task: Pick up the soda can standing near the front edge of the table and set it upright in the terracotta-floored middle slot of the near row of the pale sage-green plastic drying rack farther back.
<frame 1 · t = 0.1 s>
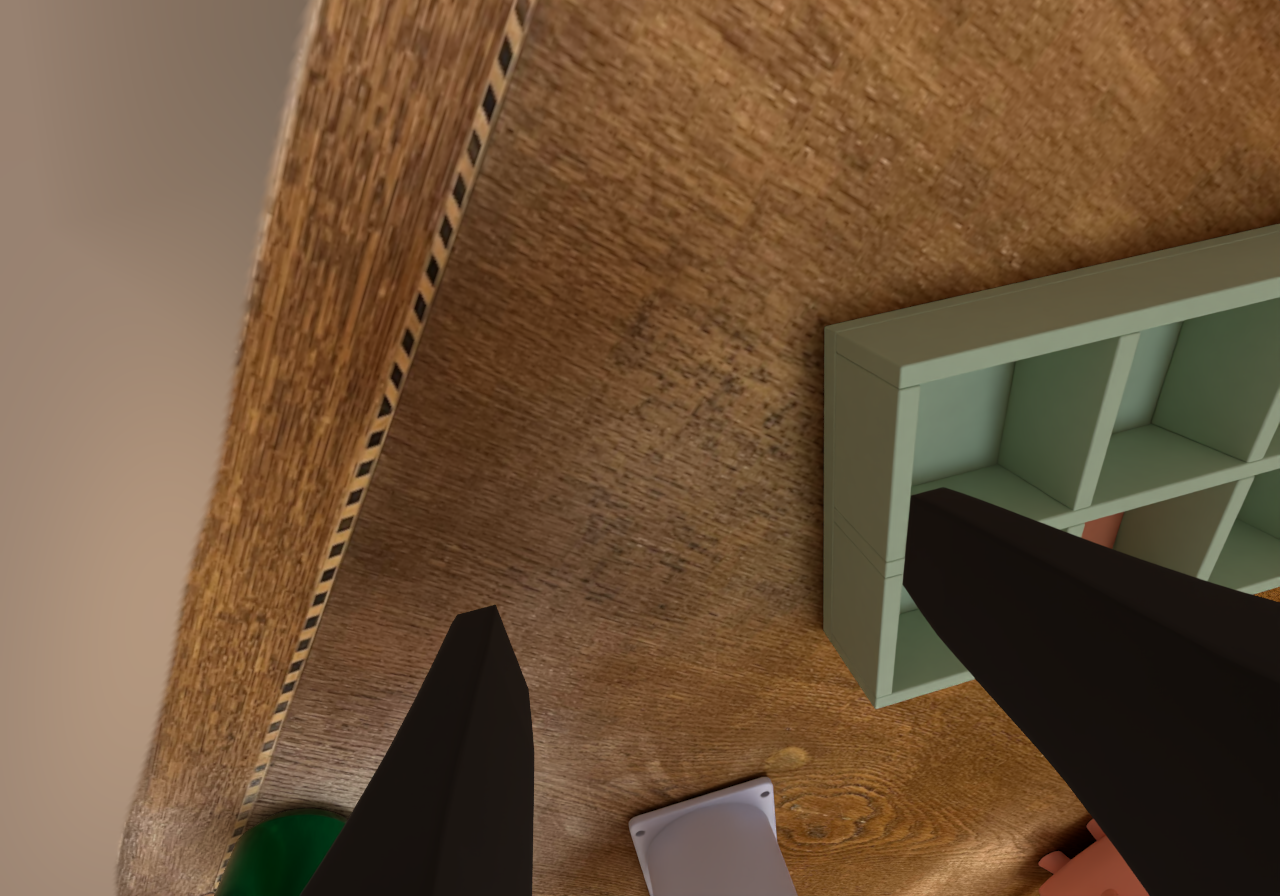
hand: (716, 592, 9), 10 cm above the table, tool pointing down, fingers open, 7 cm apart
soda can: (305, 831, 25), on the table
rack: (1062, 440, 23), on the table
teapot: (1088, 840, 44), on the table
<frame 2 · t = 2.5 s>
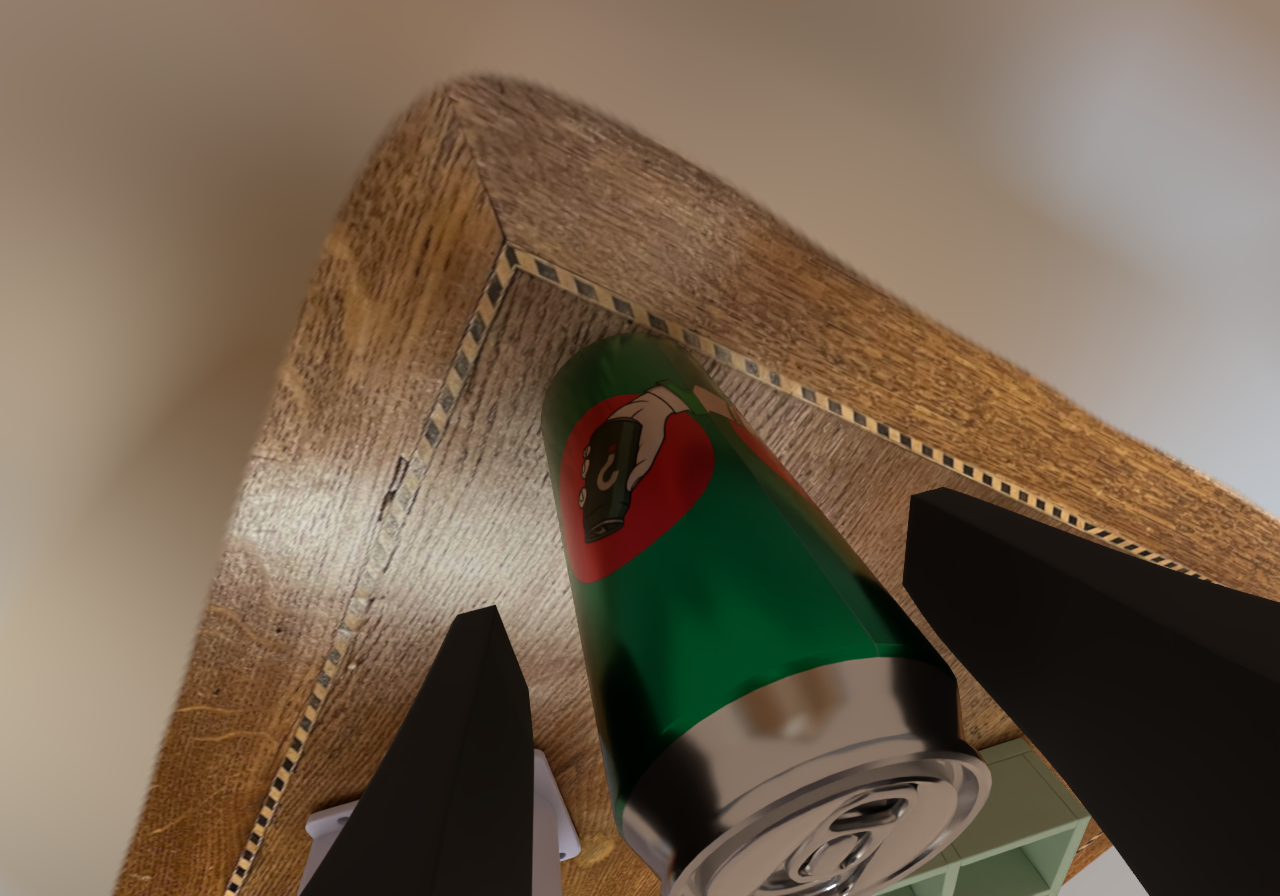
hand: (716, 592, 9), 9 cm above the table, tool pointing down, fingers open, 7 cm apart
soda can: (622, 403, 17), on the table
rack: (888, 874, 35), on the table
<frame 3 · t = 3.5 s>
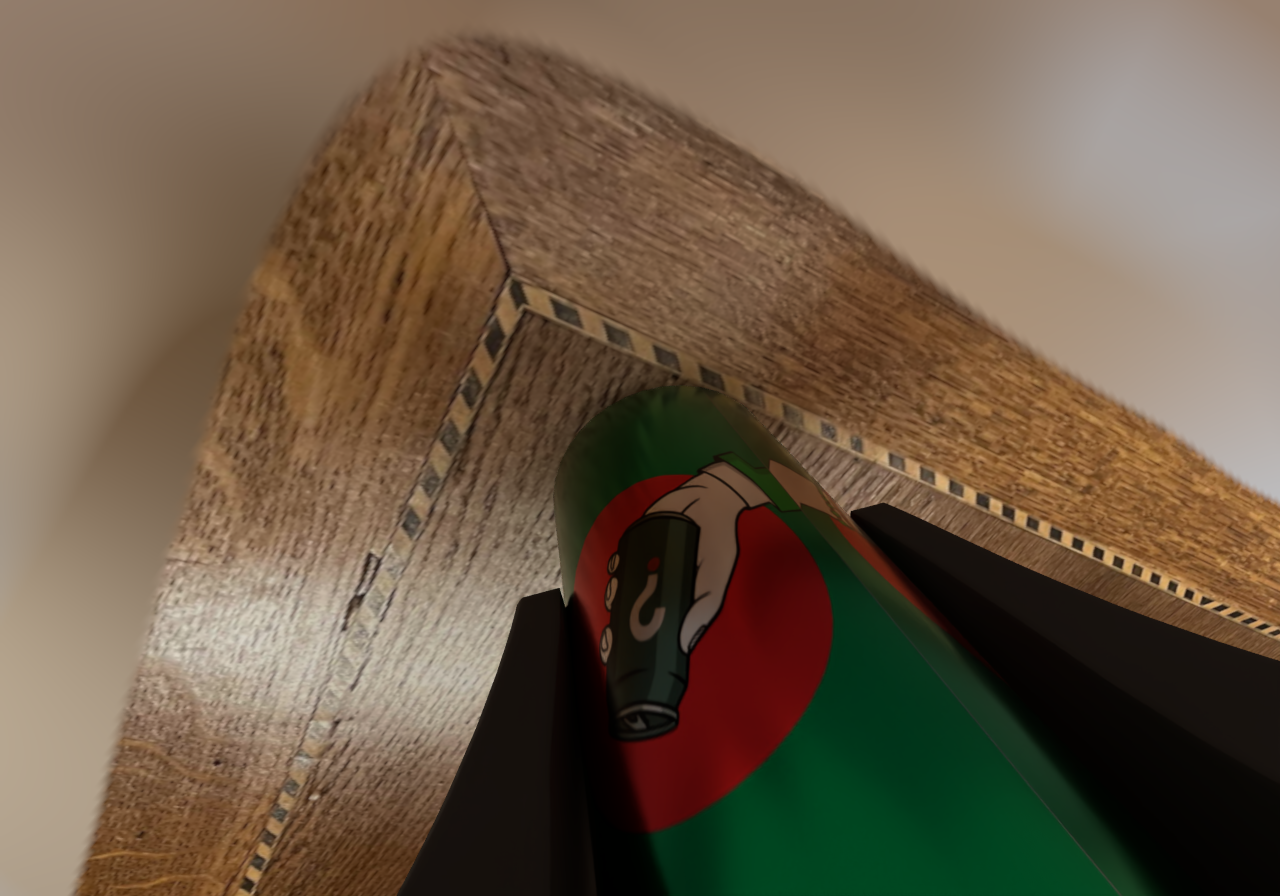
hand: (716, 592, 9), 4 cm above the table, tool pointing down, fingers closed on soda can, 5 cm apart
soda can: (659, 474, 13), on the table, touching gripper
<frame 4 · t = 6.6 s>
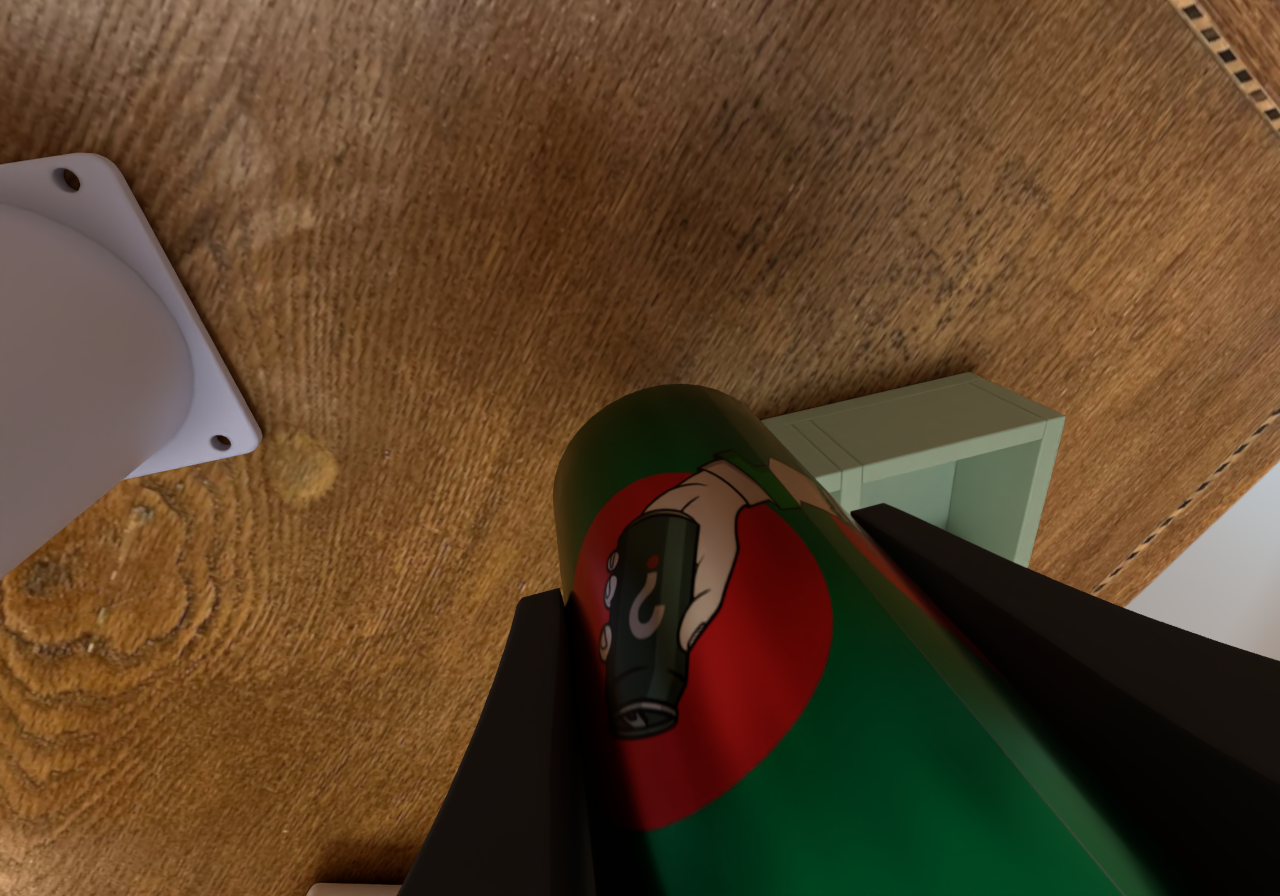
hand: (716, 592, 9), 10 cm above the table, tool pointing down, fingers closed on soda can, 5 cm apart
soda can: (659, 473, 13), point 6 cm above the table, touching gripper
rack: (793, 621, 26), on the table
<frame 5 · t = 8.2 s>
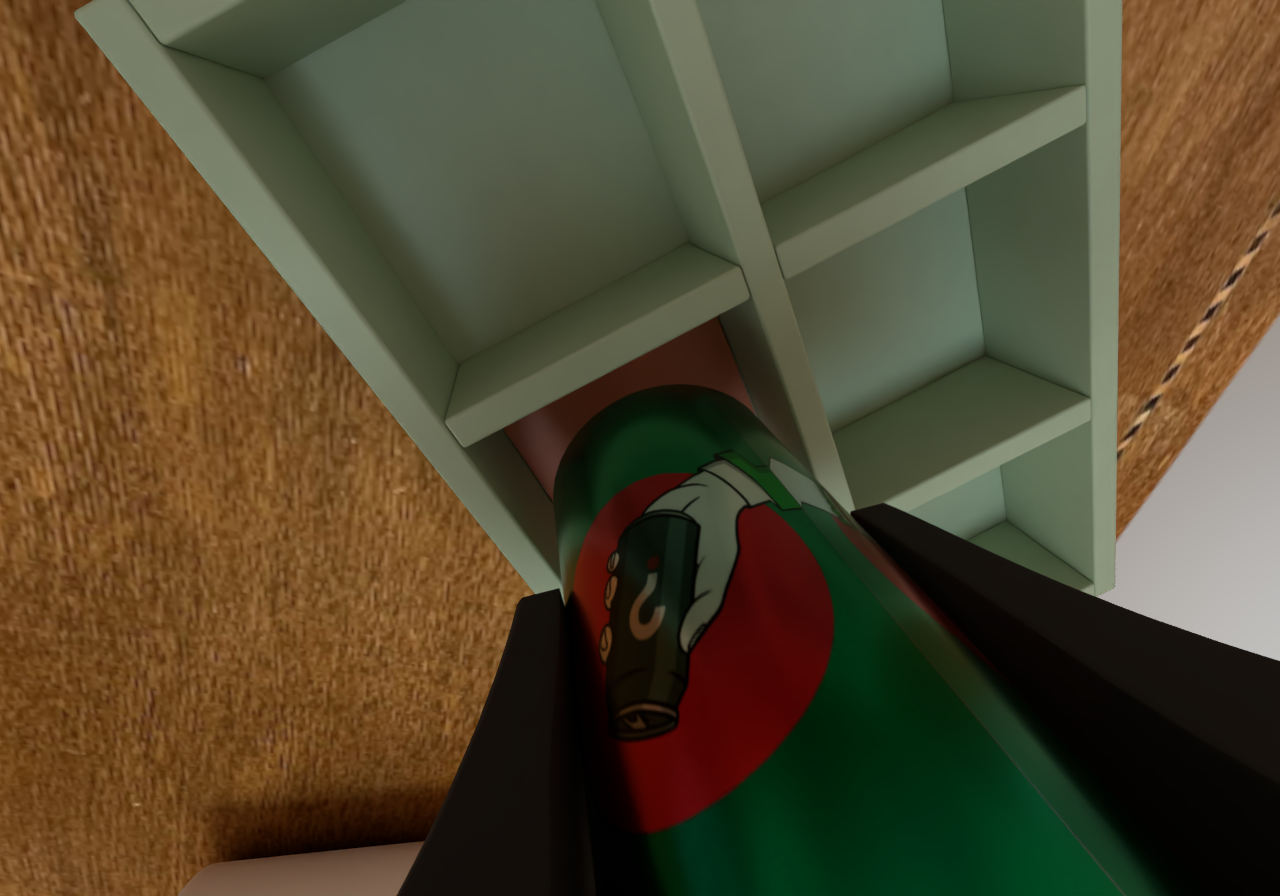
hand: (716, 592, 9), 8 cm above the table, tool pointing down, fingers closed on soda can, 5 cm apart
soda can: (659, 473, 13), point 3 cm above the table, touching gripper
rack: (741, 359, 16), on the table
mug: (365, 884, 24), on the table
when the fingers open (5 cm above the table, at t = 9.5 s): soda can stays where it is, resting on rack.
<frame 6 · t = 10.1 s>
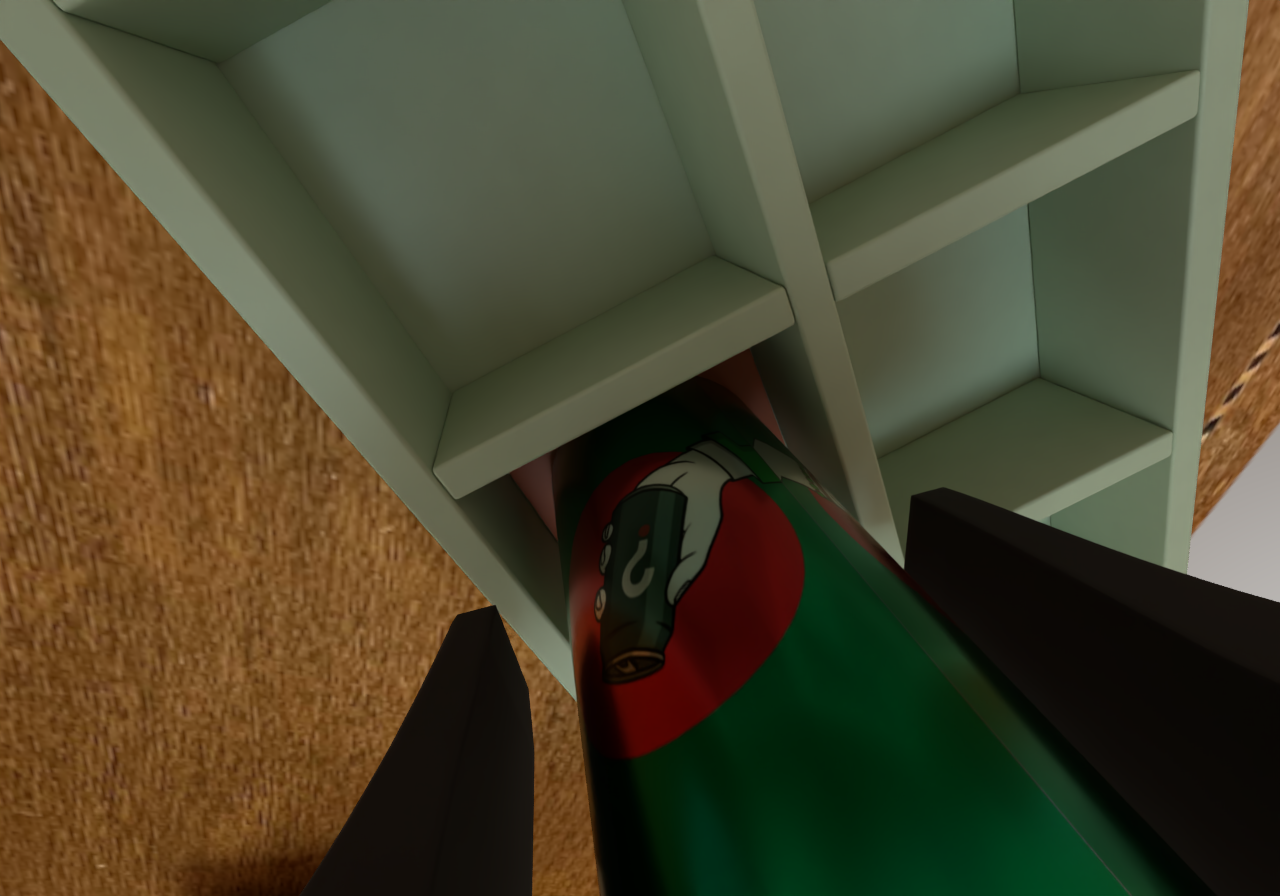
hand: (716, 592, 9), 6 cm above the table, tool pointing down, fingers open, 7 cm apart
soda can: (653, 459, 14), point 1 cm above the table, touching rack
rack: (769, 383, 14), on the table
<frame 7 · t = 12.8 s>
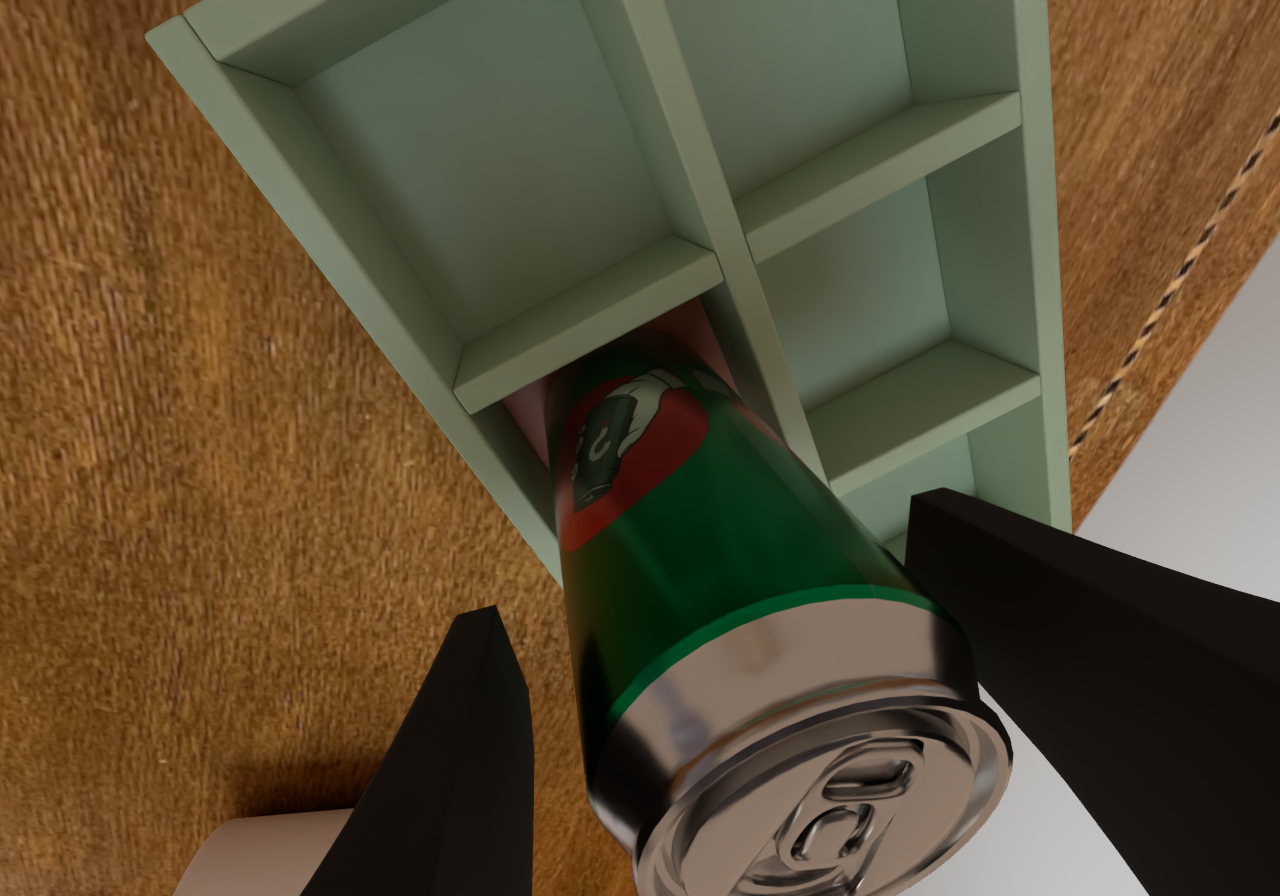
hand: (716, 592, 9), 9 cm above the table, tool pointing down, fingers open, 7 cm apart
soda can: (628, 404, 17), point 1 cm above the table, touching rack
rack: (724, 343, 17), on the table
mug: (374, 845, 25), on the table
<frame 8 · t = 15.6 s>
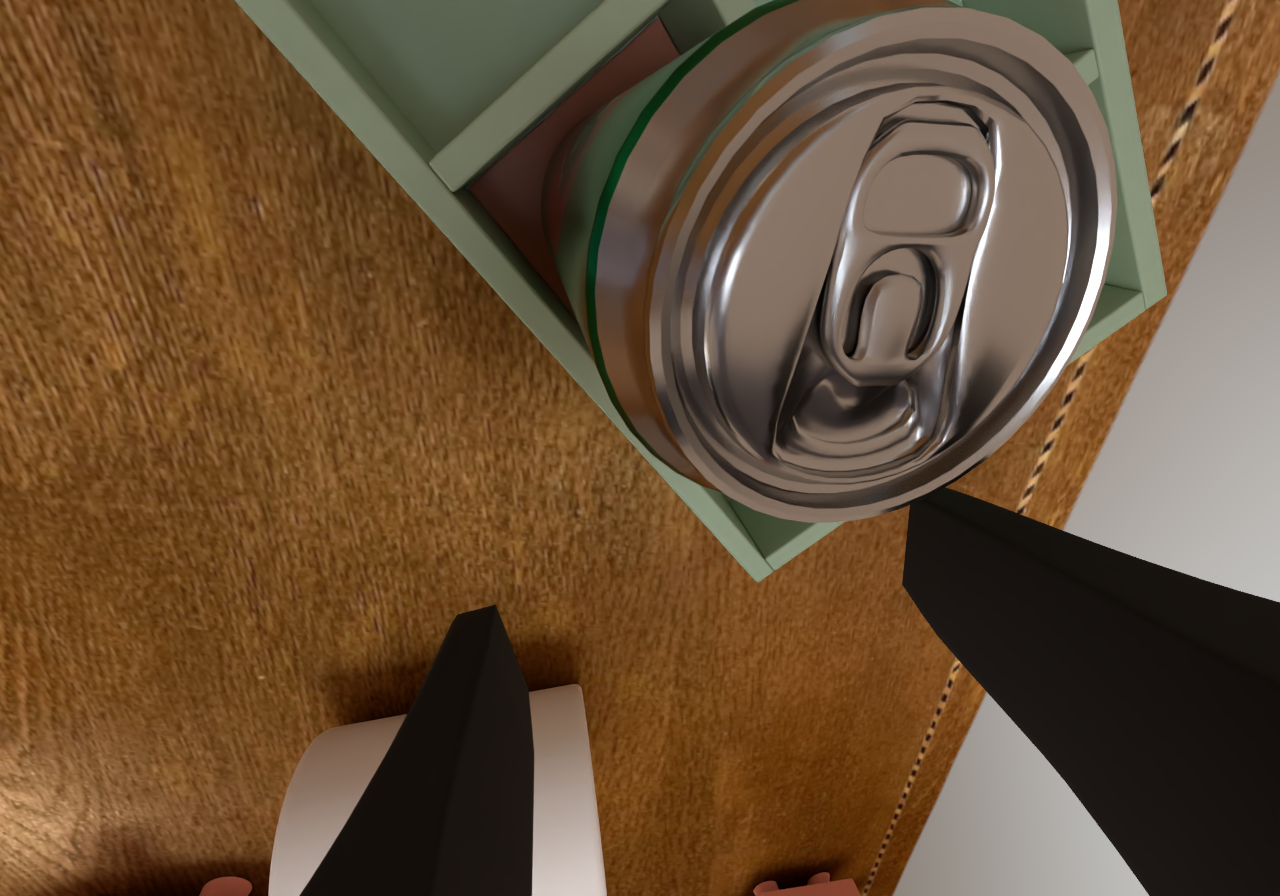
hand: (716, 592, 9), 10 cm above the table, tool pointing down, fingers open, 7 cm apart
soda can: (631, 210, 15), point 1 cm above the table, touching rack
rack: (724, 127, 16), on the table
mug: (477, 750, 25), on the table
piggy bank: (790, 895, 38), on the table
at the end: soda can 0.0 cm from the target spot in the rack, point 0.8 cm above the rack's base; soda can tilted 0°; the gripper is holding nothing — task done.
